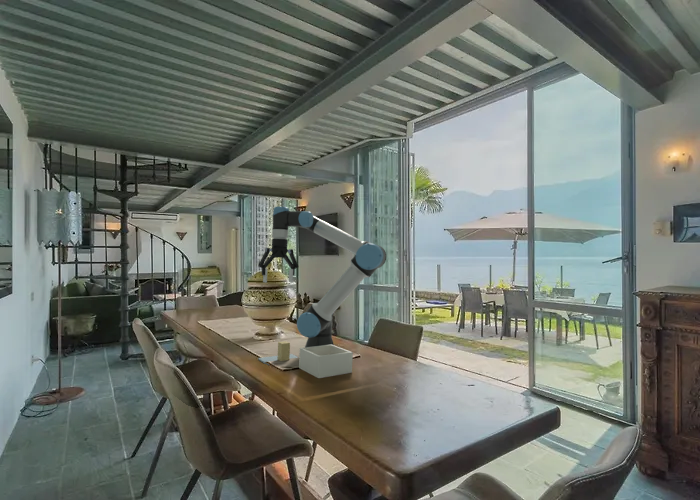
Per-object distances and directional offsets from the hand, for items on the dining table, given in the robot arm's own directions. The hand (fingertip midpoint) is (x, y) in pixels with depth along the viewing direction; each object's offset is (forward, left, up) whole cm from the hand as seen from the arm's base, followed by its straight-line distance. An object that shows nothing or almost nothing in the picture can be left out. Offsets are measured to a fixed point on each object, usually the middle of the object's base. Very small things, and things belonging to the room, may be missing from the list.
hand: (278, 282), depth 186 cm
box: (-6, +36, -35) cm, 50 cm away
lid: (+2, +13, -35) cm, 38 cm away
